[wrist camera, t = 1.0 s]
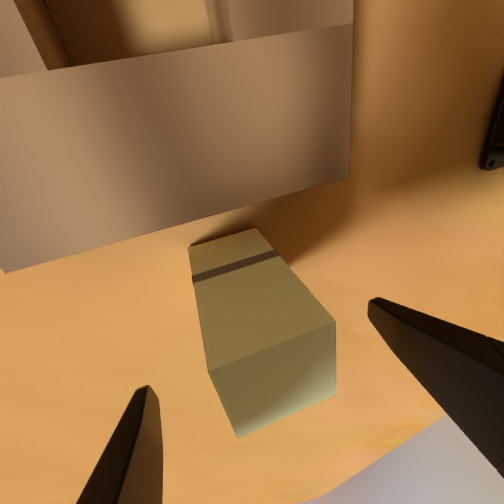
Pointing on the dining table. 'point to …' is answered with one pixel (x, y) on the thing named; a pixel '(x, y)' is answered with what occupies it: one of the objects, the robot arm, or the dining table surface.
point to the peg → (260, 331)
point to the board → (167, 125)
